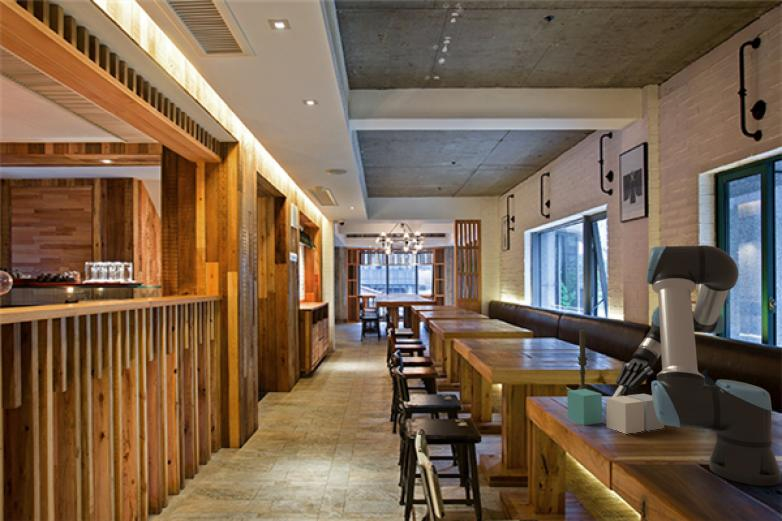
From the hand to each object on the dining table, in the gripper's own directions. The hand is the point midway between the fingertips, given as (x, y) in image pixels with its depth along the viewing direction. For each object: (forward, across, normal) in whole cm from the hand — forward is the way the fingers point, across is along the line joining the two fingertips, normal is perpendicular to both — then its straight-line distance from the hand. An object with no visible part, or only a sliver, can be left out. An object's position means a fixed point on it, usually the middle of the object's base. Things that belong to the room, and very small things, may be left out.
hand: (614, 401), depth 183 cm
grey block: (+4, -13, -4) cm, 14 cm away
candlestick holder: (+3, +17, -5) cm, 18 cm away
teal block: (+14, 0, +6) cm, 15 cm away
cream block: (+10, -13, +2) cm, 16 cm away
